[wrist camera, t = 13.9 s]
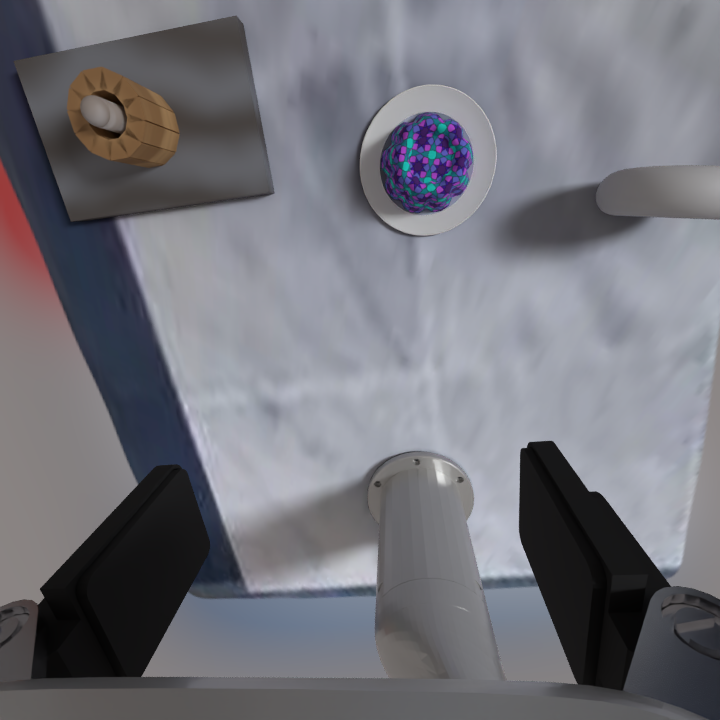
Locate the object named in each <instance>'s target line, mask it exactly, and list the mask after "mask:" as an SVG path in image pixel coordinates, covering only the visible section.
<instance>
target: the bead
mask: <svg viewBox="0 0 720 720" xmlns="http://www.w3.org/2000/svg"><path fill="white" fill-rule="evenodd" d="M70 87H71V88H69V92H68V102H67V110H69V111H67V113H68V116H69V118H70V121H71V124H72V127H73V130H74V133H76V134H75V135H76V136H77V137H78V138H79V139H80V141H81V142H82V143H83V144H84V145H85V146H86V147H87V149H88V150H89V151H90V152H91V153H94V154H96V155H98V156H101V157H103V158H105V159H108V160H110V161H116V162H121V163H126V164H131V165H136V166H141V167H146V168H150V167H156V166H162V165H163V164H164V165H165V164H166V163H167V162H168V161H169V160H170V158H171V157H172V156H173V155H174V154H175V152H176V150H177V145H178V140H179V135H180V134H178V133H179V129H178V125H177V121H176V117H175V113H174V112H173V110H172V109H171V108H170V106H169V105H168V104H167V103H166V101H165V100H164V99H163V98H162V96H160V95H159V94H157V93H155V92H153V91H151V90H149V89H147V88H145V87H143V86H141V85H139V84H137V83H135V82H134V81H132V80H130V79H128V78H126V77H124V76H122V75H120V74H117V73H115V72H113V71H111V70H108V69H106V68H104V67H97V68H92V69H87V70H83V72H82V71H81V72H80V74H79V75H78V76H77V77H76V79H75V80H74V81H73V82H72V84H71V85H70ZM89 95H95V96H98V97H101V98H103V99H106V100H108V101H111V102H113V103H116V104H118V105H120V106H123V107H124V108H125V112H126V115H127V124H126V130H125V131H124V132H123V134H119V133H116V132H113V131H109V130H106V129H103V128H99V127H96V126H94V125H92V124H90V123H89V122H88V121H87V120H86V119H85V118H84V117H83V115H82V113H81V110H80V104H81V101H82V99H83V98H84V97H86V96H89Z"/></svg>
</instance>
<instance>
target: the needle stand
mask: <svg viewBox="0 0 720 720" xmlns="http://www.w3.org/2000/svg"><path fill="white" fill-rule="evenodd" d="M14 64H15V67H16V69H17V72H18V75H19V78H20V81H21V83H22V86H23V89H24V92H25V95H26V97H27V100H28V103H29V106H30V108H31V111H32V114H33V117H34V120H35V122H36V125H37V128H38V131H39V134H40V136H41V139H42V142H43V145H44V148H45V150H46V153H47V156H48V159H49V162H50V164H51V167H52V170H53V173H54V176H55V178H56V181H57V184H58V187H59V190H60V192H61V195H62V198H63V201H64V203H65V206H66V209H67V212H68V215H69V217H70V220H71V221H88V220H95V219H102V218H109V217H115V216H122V215H129V214H136V213H143V212H150V211H156V210H163V209H170V208H177V207H184V206H191V205H197V204H204V203H211V202H218V201H225V200H232V199H239V198H245V197H252V196H259V195H266V194H273V193H274V188H273V182H272V177H271V172H270V166H269V161H268V155H267V150H266V145H265V139H264V134H263V128H262V123H261V118H260V112H259V107H258V101H257V96H256V91H255V85H254V80H253V74H252V69H251V64H250V58H249V53H248V47H247V42H246V37H245V31H244V26H243V23H242V22H241V21H240V20H239V18H238V17H237V16H232V17H227V18H222V19H217V20H213V21H208V22H203V23H198V24H193V25H188V26H183V27H178V28H173V29H168V30H164V31H159V32H154V33H149V34H144V35H139V36H134V37H129V38H124V39H120V40H115V41H110V42H105V43H100V44H95V45H90V46H85V47H80V48H75V49H71V50H66V51H61V52H56V53H51V54H46V55H41V56H36V57H31V58H26V59H22V60H17V61H14ZM97 67H104V68H106V69H108V70H111V71H113V72H115V73H117V74H120V75H122V76H124V77H126V78H128V79H130V80H132V81H134V82H135V83H137V84H139V85H141V86H143V87H145V88H147V89H149V90H151V91H153V92H155V93H157V94H159V95H160V96H162V98H163V99H164V100H165V101H166V103H167V104H168V105H169V106H170V108H171V109H172V110H173V112H174V113H175V117H176V121H177V125H178V129H179V133H178V134H180V135H179V140H178V145H177V150H176V152H175V154H174V155H173V156H172V157H171V158H170V160H169V161H168V162H167V163H166V164H165V165H164V164H163V165H162V166H156V167H150V168H146V167H141V166H136V165H131V164H126V163H121V162H116V161H110V160H108V159H105V158H103V157H101V156H98V155H96V154H94V153H91V152H90V151H89V150H88V149H87V147H86V146H85V145H84V144H83V143H82V142H81V141H80V139H79V138H78V137H77V136H76V135H75V134H76V133H74V130H73V127H72V124H71V121H70V118H69V116H68V113H67V111H69V110H67V102H68V92H69V88H71V87H70V85H71V84H72V82H73V81H74V80H75V79H76V77H77V76H78V75H79V74H80V72H81V71H82V72H83V70H87V69H92V68H97ZM80 110H81V113H82V115H83V117H84V118H85V119H86V120H87V121H88V122H89V123H90V124H92V125H94V126H96V127H99V128H103V129H106V130H109V131H113V132H116V133H119V134H123V132H124V131H125V130H126V124H127V115H126V112H125V108H124V107H123V106H120V105H118V104H116V103H113V102H111V101H108V100H106V99H103V98H101V97H98V96H95V95H89V96H86V97H84V98H83V99H82V101H81V104H80Z"/></svg>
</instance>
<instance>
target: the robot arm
mask: <svg viewBox="0 0 720 720" xmlns="http://www.w3.org/2000/svg"><path fill="white" fill-rule="evenodd" d="M367 500H368V507H369V510H370V512H371V515H372V516H373V518H374V519H375V521H376V522H377V523H378V524H379V542H378V566H377V589H376V613H375V640H376V646H377V650H378V653H379V657H380V660H381V662H382V665H383V667H384V669H385V671H386V673H387V675H388V677H389V678H303V677H302V678H301V677H300V678H298V677H295V678H294V677H141V676H142V674H143V673H144V671H145V669H146V667H147V665H148V664H149V662H150V660H151V658H152V656H153V654H154V653H155V651H156V649H157V647H158V645H159V643H160V642H161V640H162V638H163V636H164V634H165V632H166V631H167V629H168V626H169V625H170V623H171V621H172V619H173V618H174V616H175V614H176V612H177V610H178V608H179V607H180V605H181V603H182V601H183V599H184V598H185V596H186V594H187V592H188V590H189V588H190V587H191V585H192V583H193V581H194V579H195V577H196V576H197V574H198V572H199V570H200V568H201V566H202V564H203V563H204V561H205V559H206V557H207V555H208V553H209V549H210V541H209V537H208V534H207V531H206V528H205V525H204V522H203V519H202V516H201V513H200V510H199V507H198V504H197V501H196V498H195V495H194V492H193V489H192V486H191V483H190V480H189V477H188V474H187V472H186V470H184V469H182V468H181V467H180V466H179V465H177V464H176V465H160V466H156V467H155V468H154V469H153V470H152V471H151V472H150V473H149V474H148V475H147V476H146V477H145V478H144V479H143V480H142V481H141V482H140V483H139V485H138V486H137V487H136V488H135V489H134V490H133V491H132V492H131V493H130V494H129V495H128V496H127V497H126V498H125V499H124V500H123V502H122V503H121V504H120V505H119V506H118V507H117V508H116V509H115V510H114V511H113V512H112V513H111V514H110V515H109V516H108V517H107V518H106V519H105V521H104V522H103V523H102V524H101V525H100V526H99V527H98V528H97V529H96V530H95V531H94V532H93V533H92V534H91V536H89V538H88V539H87V540H86V541H85V542H84V543H83V544H82V545H81V546H80V547H79V548H78V549H77V550H76V551H75V552H74V553H73V554H72V556H71V557H70V558H69V559H68V560H67V561H66V562H65V563H64V564H63V565H62V566H61V567H60V568H59V569H58V570H57V571H56V572H55V573H54V575H53V576H52V577H51V578H50V579H49V580H48V581H47V582H46V583H45V584H44V585H43V586H42V587H41V588H40V590H41V592H42V594H43V595H44V599H43V600H42V601H41V602H40V604H39V605H37V603H35V602H34V601H32V600H19V601H15V602H11V603H9V604H7V605H4V606H2V607H0V720H720V599H718V598H716V597H714V596H712V595H710V594H708V593H704V592H702V591H699V590H696V589H692V588H687V587H680V586H673V587H671V586H670V585H669V583H668V582H667V581H666V579H665V578H664V577H663V575H662V574H661V573H660V571H659V570H658V569H657V567H656V566H655V565H654V563H653V562H652V561H651V559H650V558H649V557H648V555H647V554H646V553H645V551H644V550H643V549H642V547H641V546H640V545H639V543H638V542H637V541H636V539H635V538H634V537H633V535H632V534H631V533H630V531H629V530H628V529H627V527H626V526H625V525H624V523H623V522H622V521H621V519H620V518H619V517H618V515H617V514H616V513H615V511H614V510H613V509H612V507H611V506H610V505H609V503H608V502H607V501H606V499H605V498H604V497H603V496H602V495H601V494H600V493H598V492H589V491H588V490H587V488H586V487H585V485H584V484H583V482H582V481H581V480H580V478H579V477H578V475H577V474H576V473H575V471H574V470H573V468H572V467H571V466H570V464H569V463H568V461H567V460H566V459H565V457H564V456H563V454H562V453H561V452H560V450H559V449H558V447H557V446H556V445H555V443H554V442H553V441H540V442H529V443H528V446H527V448H522V449H521V452H520V503H519V533H520V539H521V542H522V545H523V548H524V550H525V553H526V556H527V558H528V561H529V563H530V566H531V568H532V571H533V573H534V576H535V578H536V581H537V583H538V586H539V589H540V591H541V594H542V596H543V599H544V601H545V604H546V606H547V609H548V611H549V614H550V616H551V619H552V621H553V624H554V626H555V629H556V632H557V634H558V637H559V639H560V642H561V644H562V647H563V649H564V652H565V654H566V657H567V660H568V662H569V665H570V667H571V670H572V672H573V675H574V677H575V679H576V681H577V683H578V684H566V683H553V682H537V681H536V682H535V681H507V679H506V676H505V673H504V669H503V666H502V663H501V659H500V655H499V651H498V647H497V644H496V640H495V636H494V632H493V628H492V624H491V620H490V616H489V612H488V608H487V604H486V600H485V595H484V591H483V587H482V583H481V579H480V575H479V571H478V567H477V562H476V558H475V554H474V550H473V546H472V542H471V538H470V534H469V529H468V525H467V520H468V518H469V516H470V515H471V512H472V509H473V505H474V494H473V489H472V485H471V482H470V480H469V478H468V476H467V475H466V473H465V472H464V471H463V470H462V468H461V467H460V466H458V465H457V464H456V463H455V462H453V461H452V460H450V459H448V458H446V457H444V456H441V455H438V454H435V453H429V452H410V453H405V454H401V455H399V456H396V457H393V458H392V459H390V460H388V461H386V462H385V463H384V464H383V465H381V466H380V467H379V468H378V469H377V471H376V472H375V473H374V475H373V476H372V478H371V481H370V483H369V488H368V498H367Z"/></svg>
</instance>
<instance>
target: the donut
mask: <svg viewBox="0 0 720 720" xmlns="http://www.w3.org/2000/svg"><path fill="white" fill-rule="evenodd" d="M596 202H597V206H598V207H599V208H600V210H601V211H603V212H604V213H606V214H609V215H615V216H639V217H664V218H690V219H718V220H719V219H720V166H707V165H677V166H653V167H640V168H631V169H624V170H620V171H617V172H614V173H612V174H610V175H609V176H608V177H606V178H605V179H604V180H603V181H602V182H601V184H600V185H599V187H598V189H597V192H596Z"/></svg>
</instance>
